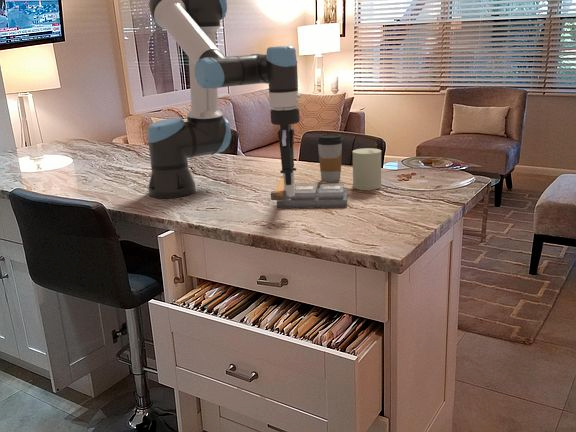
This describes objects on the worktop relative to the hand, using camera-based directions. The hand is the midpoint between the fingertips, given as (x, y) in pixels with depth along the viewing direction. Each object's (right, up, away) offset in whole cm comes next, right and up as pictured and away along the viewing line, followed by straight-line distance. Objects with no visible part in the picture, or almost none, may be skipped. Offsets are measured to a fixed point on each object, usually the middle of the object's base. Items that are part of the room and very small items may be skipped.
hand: (289, 195), depth 160 cm
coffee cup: (+14, +6, +39) cm, 41 cm away
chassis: (+7, -1, +15) cm, 17 cm away
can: (+25, +4, +29) cm, 38 cm away
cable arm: (-2, +2, +7) cm, 7 cm away
